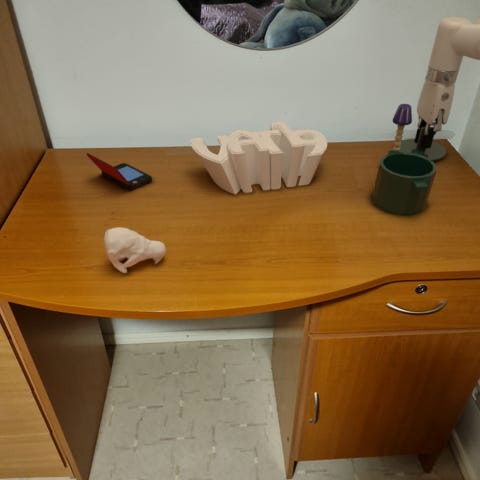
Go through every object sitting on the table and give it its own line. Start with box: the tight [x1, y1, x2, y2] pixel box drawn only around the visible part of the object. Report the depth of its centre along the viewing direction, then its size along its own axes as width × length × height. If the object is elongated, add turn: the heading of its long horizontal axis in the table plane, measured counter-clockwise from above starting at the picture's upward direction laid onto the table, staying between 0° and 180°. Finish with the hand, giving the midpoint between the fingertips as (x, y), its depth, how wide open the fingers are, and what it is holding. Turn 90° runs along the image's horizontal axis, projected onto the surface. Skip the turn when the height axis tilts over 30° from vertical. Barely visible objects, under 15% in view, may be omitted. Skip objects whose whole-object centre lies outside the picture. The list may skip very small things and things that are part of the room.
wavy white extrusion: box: [190, 121, 328, 195], centre depth 122 cm, size 35×16×11 cm, turn 102°
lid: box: [399, 126, 447, 162], centre depth 134 cm, size 14×14×7 cm
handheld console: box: [86, 152, 153, 191], centre depth 122 cm, size 12×11×7 cm
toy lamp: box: [392, 103, 413, 151], centre depth 123 cm, size 5×5×17 cm
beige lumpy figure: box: [103, 227, 167, 274], centre depth 96 cm, size 6×8×12 cm
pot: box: [371, 149, 438, 216], centre depth 114 cm, size 13×18×10 cm
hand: (422, 144), depth 135 cm, fingers closed on lid, 2 cm apart
